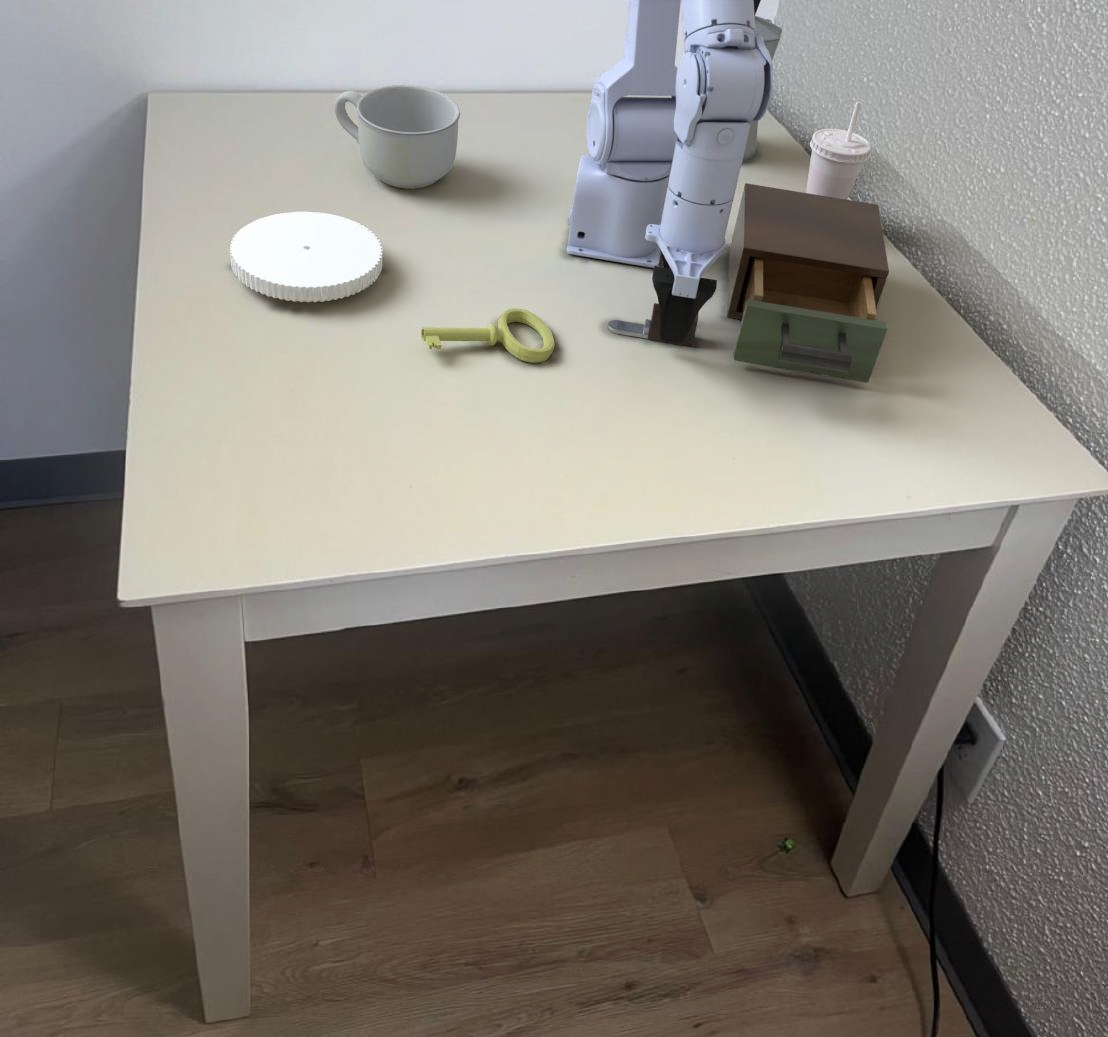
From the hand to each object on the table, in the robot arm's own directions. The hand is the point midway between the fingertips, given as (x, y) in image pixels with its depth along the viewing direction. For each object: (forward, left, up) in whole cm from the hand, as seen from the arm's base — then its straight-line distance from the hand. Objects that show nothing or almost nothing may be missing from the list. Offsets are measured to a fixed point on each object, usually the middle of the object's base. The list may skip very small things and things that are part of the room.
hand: (673, 324), depth 109 cm
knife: (-2, 0, -1) cm, 2 cm away
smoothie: (+15, +28, -2) cm, 32 cm away
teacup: (-32, +24, -2) cm, 40 cm away
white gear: (-35, +1, -2) cm, 35 cm away
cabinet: (+12, +12, -1) cm, 17 cm away
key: (-16, -6, -2) cm, 17 cm away
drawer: (+12, 0, 0) cm, 12 cm away
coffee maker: (+3, +43, -2) cm, 43 cm away
